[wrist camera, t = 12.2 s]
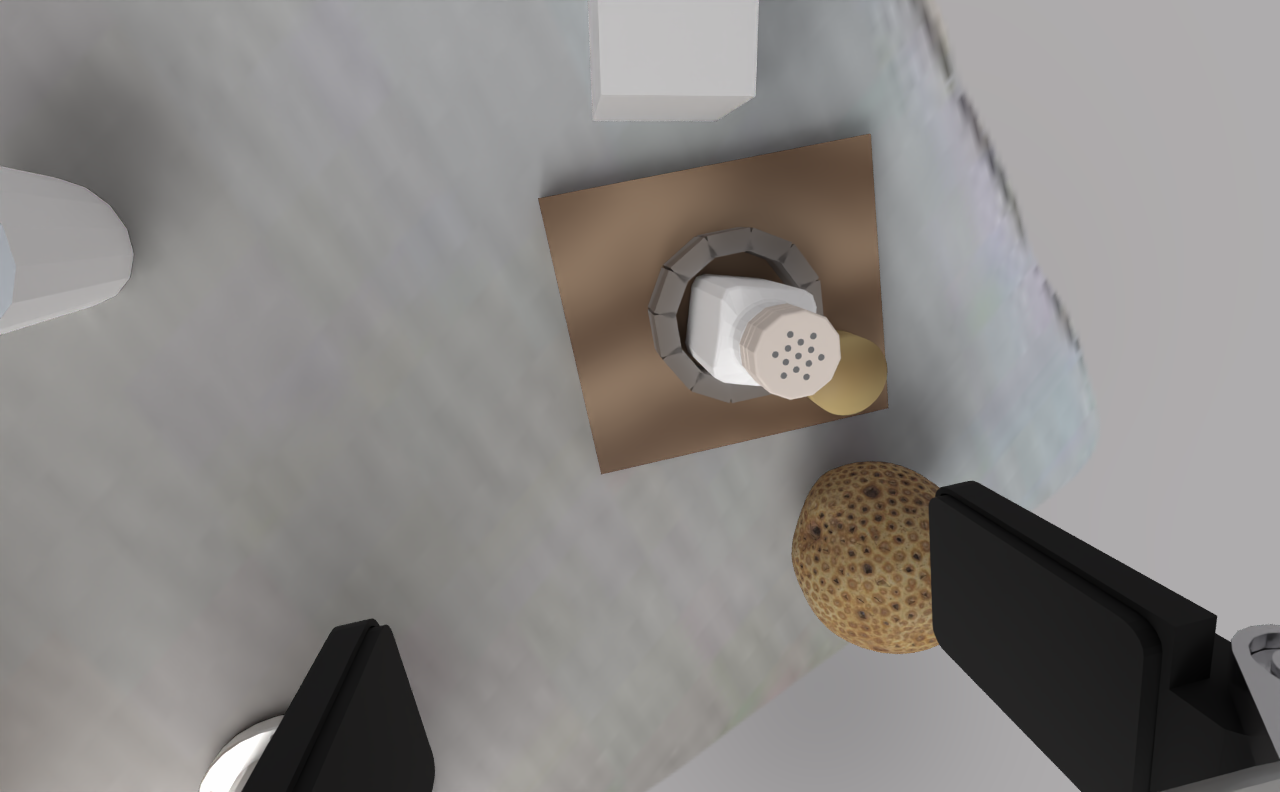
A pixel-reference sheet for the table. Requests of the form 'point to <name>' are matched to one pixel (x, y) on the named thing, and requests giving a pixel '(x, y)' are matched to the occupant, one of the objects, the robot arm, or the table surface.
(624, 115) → the white cube
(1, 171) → the shot glass
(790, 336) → the salt shaker
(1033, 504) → the table surface
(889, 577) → the natural sponge
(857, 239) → the carrier board
